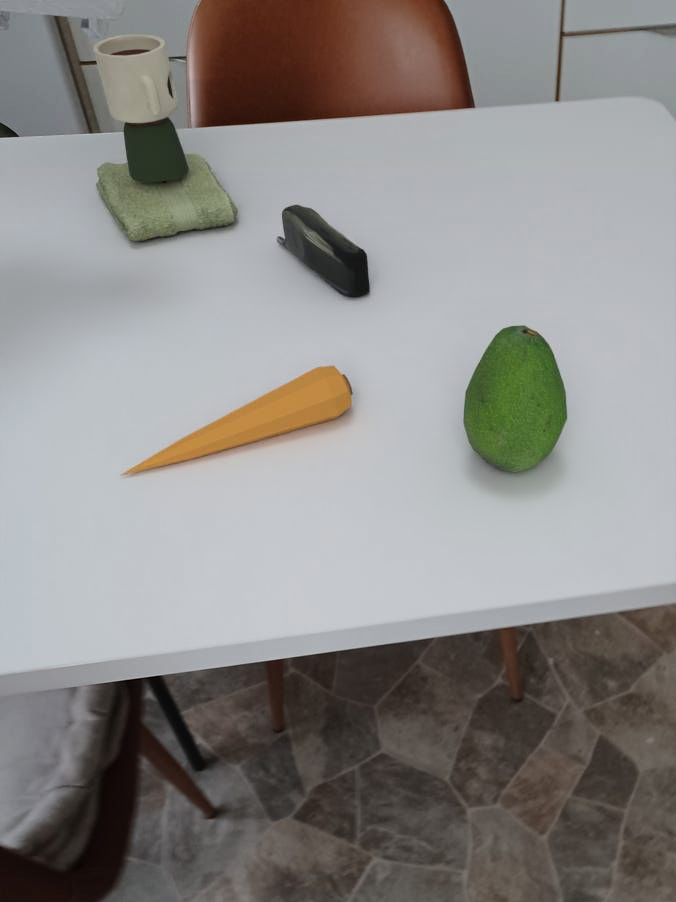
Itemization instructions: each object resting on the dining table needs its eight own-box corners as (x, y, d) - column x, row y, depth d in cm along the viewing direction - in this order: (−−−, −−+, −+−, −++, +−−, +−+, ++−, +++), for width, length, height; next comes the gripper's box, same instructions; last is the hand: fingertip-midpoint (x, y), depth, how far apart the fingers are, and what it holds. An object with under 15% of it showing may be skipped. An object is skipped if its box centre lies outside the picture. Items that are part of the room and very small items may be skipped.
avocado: (534, 504, 74) (542, 368, 65) (446, 472, 77) (443, 337, 68) (578, 449, 79) (591, 315, 70) (494, 421, 81) (497, 288, 72)
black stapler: (372, 247, 92) (289, 190, 99) (346, 257, 91) (264, 198, 98) (375, 295, 96) (295, 237, 103) (350, 305, 94) (271, 245, 102)
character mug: (208, 189, 104) (181, 54, 94) (144, 204, 101) (109, 67, 92) (176, 153, 110) (147, 24, 100) (114, 166, 108) (78, 35, 98)
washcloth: (204, 166, 115) (199, 138, 113) (245, 228, 105) (240, 198, 102) (93, 186, 112) (85, 157, 109) (124, 252, 101) (115, 221, 99)
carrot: (348, 406, 84) (330, 355, 82) (364, 414, 80) (346, 362, 78) (128, 494, 79) (103, 443, 77) (135, 508, 75) (109, 455, 73)
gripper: (78, -121, 69) (166, -3, 83) (-175, -138, 72) (-49, -20, 85) (67, -31, 70) (156, 72, 83) (-185, -51, 72) (-58, 52, 86)
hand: (50, 25), depth 84 cm, fingers open, 8 cm apart
